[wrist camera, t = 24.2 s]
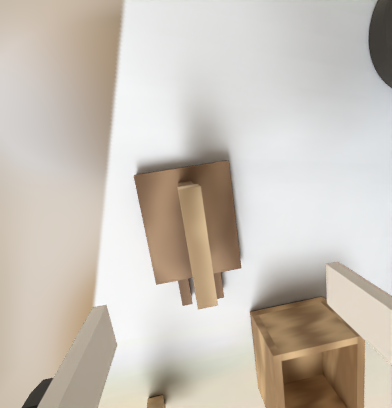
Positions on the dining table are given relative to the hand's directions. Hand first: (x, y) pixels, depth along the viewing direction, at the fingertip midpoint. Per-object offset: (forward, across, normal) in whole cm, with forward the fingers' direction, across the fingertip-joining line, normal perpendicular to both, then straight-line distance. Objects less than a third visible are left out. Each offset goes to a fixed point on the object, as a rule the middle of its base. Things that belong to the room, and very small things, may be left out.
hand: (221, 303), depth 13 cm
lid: (+18, -1, -2) cm, 18 cm away
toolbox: (+18, +12, -26) cm, 34 cm away
